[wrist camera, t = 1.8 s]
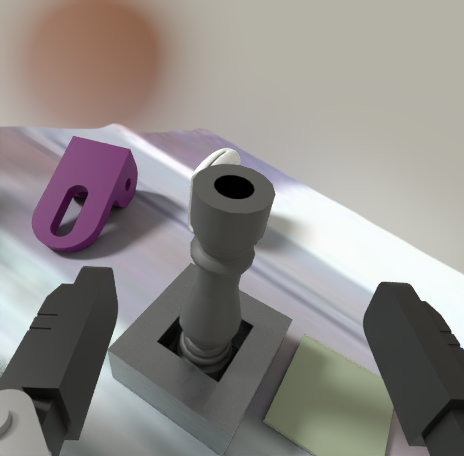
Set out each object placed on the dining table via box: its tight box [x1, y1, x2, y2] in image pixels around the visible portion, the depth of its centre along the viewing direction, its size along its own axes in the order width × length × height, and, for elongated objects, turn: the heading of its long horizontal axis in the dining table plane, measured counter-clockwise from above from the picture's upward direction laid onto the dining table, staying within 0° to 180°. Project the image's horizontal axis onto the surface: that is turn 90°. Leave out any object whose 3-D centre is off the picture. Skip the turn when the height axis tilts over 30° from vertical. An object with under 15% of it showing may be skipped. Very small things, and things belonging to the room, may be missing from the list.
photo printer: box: [187, 148, 240, 233], centre depth 55 cm, size 10×4×12 cm, turn 152°
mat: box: [263, 334, 394, 456], centre depth 38 cm, size 12×12×1 cm
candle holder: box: [176, 164, 275, 382], centre depth 32 cm, size 6×6×25 cm
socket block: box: [108, 263, 292, 456], centre depth 38 cm, size 14×14×6 cm
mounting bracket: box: [32, 136, 138, 252], centre depth 54 cm, size 10×8×18 cm
